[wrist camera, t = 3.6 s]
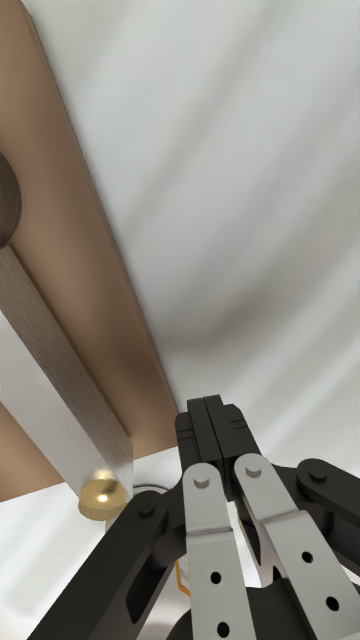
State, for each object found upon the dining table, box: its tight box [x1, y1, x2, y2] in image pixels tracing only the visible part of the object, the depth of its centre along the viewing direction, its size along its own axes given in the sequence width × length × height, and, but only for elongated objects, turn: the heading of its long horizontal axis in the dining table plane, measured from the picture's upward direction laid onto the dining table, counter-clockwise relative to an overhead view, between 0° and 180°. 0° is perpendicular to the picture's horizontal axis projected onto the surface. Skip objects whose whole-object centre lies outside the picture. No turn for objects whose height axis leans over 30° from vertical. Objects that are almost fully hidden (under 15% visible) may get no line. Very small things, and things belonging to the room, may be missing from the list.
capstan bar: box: [0, 152, 133, 521], centre depth 13 cm, size 17×5×5 cm, turn 21°
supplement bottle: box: [105, 487, 191, 640], centre depth 20 cm, size 5×5×10 cm
